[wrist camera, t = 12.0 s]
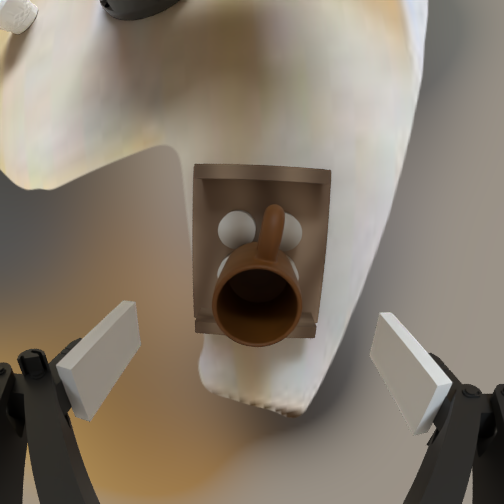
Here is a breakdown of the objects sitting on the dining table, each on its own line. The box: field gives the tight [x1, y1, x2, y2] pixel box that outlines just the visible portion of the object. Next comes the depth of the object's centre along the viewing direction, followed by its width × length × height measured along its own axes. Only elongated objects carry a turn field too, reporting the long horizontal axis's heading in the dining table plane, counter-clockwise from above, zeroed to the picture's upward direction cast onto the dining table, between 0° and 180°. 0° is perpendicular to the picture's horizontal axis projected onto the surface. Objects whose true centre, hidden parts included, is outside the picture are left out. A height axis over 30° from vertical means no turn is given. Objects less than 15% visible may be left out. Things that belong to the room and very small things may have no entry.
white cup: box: [0, 0, 38, 34], centre depth 22 cm, size 8×8×10 cm
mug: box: [212, 204, 302, 347], centre depth 27 cm, size 12×8×9 cm, turn 169°
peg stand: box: [193, 164, 331, 338], centre depth 33 cm, size 16×19×5 cm
